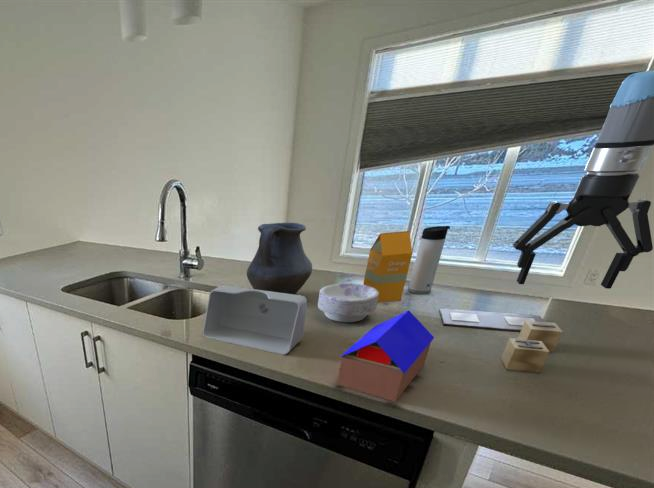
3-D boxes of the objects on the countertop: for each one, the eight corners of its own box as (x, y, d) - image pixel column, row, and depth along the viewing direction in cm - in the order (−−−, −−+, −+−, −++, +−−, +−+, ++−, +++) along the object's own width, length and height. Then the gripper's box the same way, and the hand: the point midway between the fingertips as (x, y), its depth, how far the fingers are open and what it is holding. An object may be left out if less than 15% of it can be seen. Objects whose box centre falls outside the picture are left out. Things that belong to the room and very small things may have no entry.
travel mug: (432, 294, 127) (452, 228, 116) (408, 293, 129) (425, 228, 119) (430, 288, 131) (448, 224, 121) (406, 287, 134) (422, 224, 124)
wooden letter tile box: (546, 342, 94) (556, 322, 92) (553, 352, 90) (563, 331, 88) (516, 339, 97) (525, 319, 94) (522, 349, 93) (531, 328, 90)
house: (334, 384, 86) (343, 334, 80) (369, 351, 98) (379, 305, 92) (396, 403, 79) (411, 349, 73) (426, 364, 90) (441, 315, 84)
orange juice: (401, 300, 125) (417, 233, 115) (372, 302, 125) (386, 235, 115) (388, 292, 132) (402, 228, 121) (360, 294, 132) (373, 231, 122)
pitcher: (318, 294, 136) (329, 215, 123) (291, 314, 122) (301, 228, 110) (261, 286, 148) (266, 214, 136) (231, 304, 134) (234, 225, 122)
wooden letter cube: (532, 361, 88) (542, 340, 85) (539, 373, 83) (549, 351, 81) (500, 358, 90) (509, 337, 87) (506, 369, 86) (515, 347, 83)
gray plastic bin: (311, 333, 110) (317, 288, 103) (288, 355, 99) (293, 307, 93) (229, 318, 124) (230, 278, 118) (201, 336, 114) (201, 293, 108)
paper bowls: (309, 321, 116) (312, 295, 112) (324, 305, 127) (328, 280, 123) (366, 330, 108) (372, 302, 104) (378, 312, 118) (384, 285, 114)
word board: (538, 317, 106) (540, 315, 106) (552, 335, 97) (553, 332, 97) (439, 310, 116) (439, 307, 115) (443, 325, 107) (443, 323, 106)
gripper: (529, 178, 78) (490, 285, 88) (724, 170, 67) (653, 294, 77) (520, 175, 83) (485, 276, 94) (699, 166, 72) (636, 283, 83)
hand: (561, 284), depth 86 cm, fingers open, 13 cm apart
